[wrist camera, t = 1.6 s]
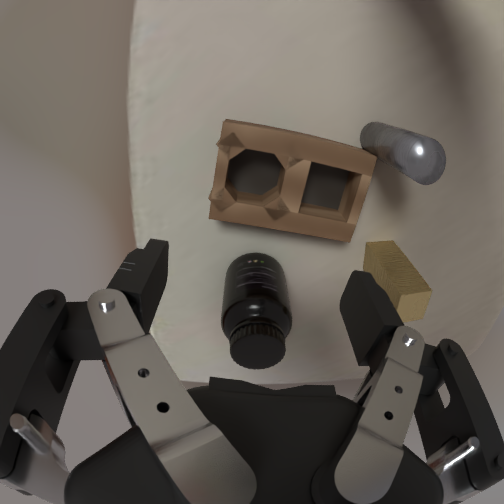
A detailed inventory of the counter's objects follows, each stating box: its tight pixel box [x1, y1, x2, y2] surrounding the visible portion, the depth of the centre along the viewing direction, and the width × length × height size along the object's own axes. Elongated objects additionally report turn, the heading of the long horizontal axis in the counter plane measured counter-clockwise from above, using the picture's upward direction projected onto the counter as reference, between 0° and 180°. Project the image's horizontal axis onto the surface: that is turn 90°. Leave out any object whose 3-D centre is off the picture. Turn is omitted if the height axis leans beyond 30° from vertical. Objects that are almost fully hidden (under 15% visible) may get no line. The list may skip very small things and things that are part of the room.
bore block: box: [209, 119, 377, 242], centre depth 27 cm, size 9×14×4 cm, turn 80°
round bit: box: [360, 122, 446, 185], centre depth 22 cm, size 4×4×10 cm
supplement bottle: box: [221, 253, 292, 369], centre depth 29 cm, size 7×7×12 cm
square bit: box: [363, 241, 432, 322], centre depth 29 cm, size 4×4×10 cm
